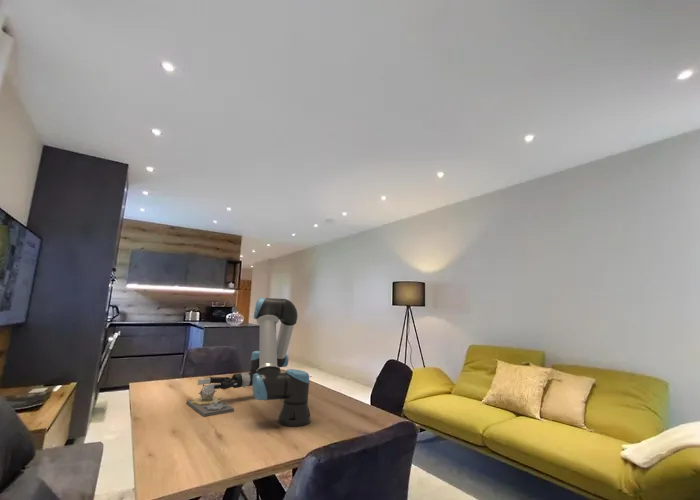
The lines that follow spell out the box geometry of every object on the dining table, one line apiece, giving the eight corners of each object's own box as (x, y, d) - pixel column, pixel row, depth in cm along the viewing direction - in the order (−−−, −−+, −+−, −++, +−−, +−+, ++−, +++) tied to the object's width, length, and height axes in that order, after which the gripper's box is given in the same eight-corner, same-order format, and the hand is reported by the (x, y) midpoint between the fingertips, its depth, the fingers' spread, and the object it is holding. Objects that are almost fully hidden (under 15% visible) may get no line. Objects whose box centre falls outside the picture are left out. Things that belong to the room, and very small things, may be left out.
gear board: (233, 411, 168) (234, 401, 169) (203, 416, 158) (204, 405, 159) (214, 399, 187) (215, 390, 188) (186, 403, 177) (187, 393, 178)
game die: (207, 408, 175) (211, 395, 171) (193, 401, 175) (197, 388, 172) (217, 395, 183) (221, 383, 180) (203, 389, 184) (207, 376, 180)
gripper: (249, 392, 181) (210, 397, 167) (230, 382, 199) (193, 387, 185) (251, 377, 182) (212, 382, 168) (231, 369, 200) (195, 373, 186)
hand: (202, 384), depth 177 cm, fingers open, 13 cm apart
